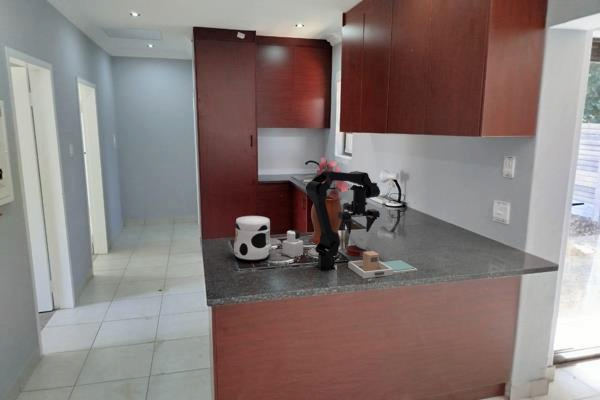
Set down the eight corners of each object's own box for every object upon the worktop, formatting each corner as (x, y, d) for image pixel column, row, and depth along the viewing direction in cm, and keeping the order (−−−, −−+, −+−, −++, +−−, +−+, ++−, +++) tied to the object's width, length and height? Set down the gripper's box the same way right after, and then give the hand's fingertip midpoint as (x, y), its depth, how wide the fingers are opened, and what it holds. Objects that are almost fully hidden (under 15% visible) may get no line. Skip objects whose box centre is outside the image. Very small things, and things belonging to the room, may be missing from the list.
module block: (368, 273, 172) (369, 255, 170) (362, 269, 176) (363, 251, 175) (378, 272, 173) (379, 254, 172) (372, 268, 178) (373, 251, 177)
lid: (391, 274, 172) (392, 271, 172) (376, 264, 183) (377, 262, 183) (417, 271, 177) (417, 268, 176) (401, 262, 188) (401, 259, 187)
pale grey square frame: (364, 279, 165) (365, 273, 165) (348, 267, 179) (348, 261, 178) (394, 275, 170) (394, 269, 170) (375, 264, 184) (375, 258, 183)
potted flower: (323, 233, 233) (326, 155, 225) (355, 244, 213) (360, 158, 205) (297, 238, 221) (299, 155, 213) (328, 250, 202) (332, 160, 193)
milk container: (229, 253, 192) (229, 216, 189) (264, 250, 199) (265, 214, 196) (239, 265, 177) (239, 225, 173) (276, 261, 183) (277, 222, 180)
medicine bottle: (291, 252, 198) (292, 228, 195) (303, 255, 193) (304, 230, 191) (282, 255, 192) (282, 230, 190) (293, 258, 188) (294, 233, 186)
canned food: (352, 259, 204) (357, 240, 206) (368, 262, 197) (373, 242, 199) (339, 253, 197) (344, 233, 199) (355, 256, 189) (361, 235, 192)
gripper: (368, 195, 193) (367, 226, 196) (333, 197, 187) (332, 230, 190) (381, 199, 183) (379, 232, 186) (343, 202, 177) (342, 236, 180)
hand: (358, 232), depth 186 cm, fingers open, 9 cm apart
